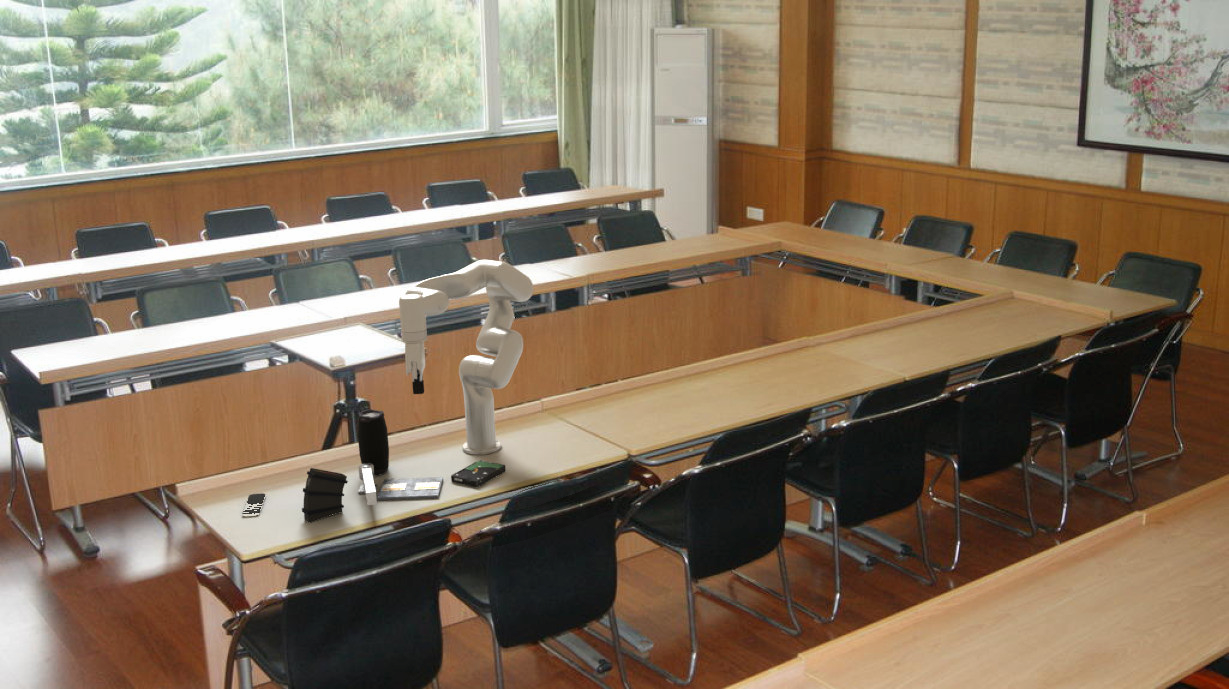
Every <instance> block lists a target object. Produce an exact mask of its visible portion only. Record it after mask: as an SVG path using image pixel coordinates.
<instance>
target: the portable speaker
mask: <svg viewBox="0 0 1229 689" xmlns="http://www.w3.org/2000/svg"><path fill="white" fill-rule="evenodd" d="M357 418H358V419H357V441H358V451H359V459H360V463H361V464H364V463H371V464H373V466H374V477H378V476H382V475H384V474H385V473H386V471H387V470H388V469H389V466H390V463H389V461H390V446H389V434H388V427H387V426H388V425H387V422H386V420H385V413H384V410H375V409H371V408H370V409H363V410H362V411H360V413H359V415H358V417H357ZM361 464H360V465H361Z"/></svg>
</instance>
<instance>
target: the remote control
mask: <svg viewBox="0 0 1229 689" xmlns="http://www.w3.org/2000/svg"><path fill="white" fill-rule="evenodd" d="M265 495H266V493H263V492H262V493H252V494H249V495H248V497H247V499H248V501H247V500H246V502H247V503H248V504H251V505H253V504H257V503H259V504H262V503H263V500H264V497H265ZM257 506H262V505H257ZM249 507H252V506H249ZM254 508H259V509H252V510H245V511H242V512H241V513H242V514H252V513H254V514H255V513H259V512H260V509H261V507H254ZM247 509H250V508H247ZM254 510H257V511H254ZM243 512H249V513H243Z"/></svg>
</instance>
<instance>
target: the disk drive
mask: <svg viewBox="0 0 1229 689" xmlns="http://www.w3.org/2000/svg"><path fill="white" fill-rule="evenodd" d="M506 469H507V468H506V464H501V463H497V462H493V461H492V462H489V461H485V460H482V459H481V460H477V461H474V462H473V463H471V464H470V465H468V466H466V467H464V468H462V469H460V470H458V471H457V472H454V473H453V474H451V476H450V480H451V483H455V484H458V485H463V486H467V487H473V488H477V489H479V488H480V487H482V486H483V485H485V484H486V482H487V483H489V482H490V481H492V480H494V479H495V478H497V477H499V476H501V475H503V474H504V473H506V472H505V471H506ZM500 474H501V475H500ZM498 475H499V476H498ZM496 476H497V477H496ZM493 478H494V479H493ZM491 479H492V480H491Z"/></svg>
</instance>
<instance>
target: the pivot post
mask: <svg viewBox="0 0 1229 689" xmlns="http://www.w3.org/2000/svg"><path fill="white" fill-rule="evenodd" d="M362 483H363V482H362ZM374 486H375V491H376V492H377V490H378V488H379V484H374ZM357 493H358V495H365V494H364V493H365V488H364V483H363V484H361V485H360V487H359V489H358V492H357Z"/></svg>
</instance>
